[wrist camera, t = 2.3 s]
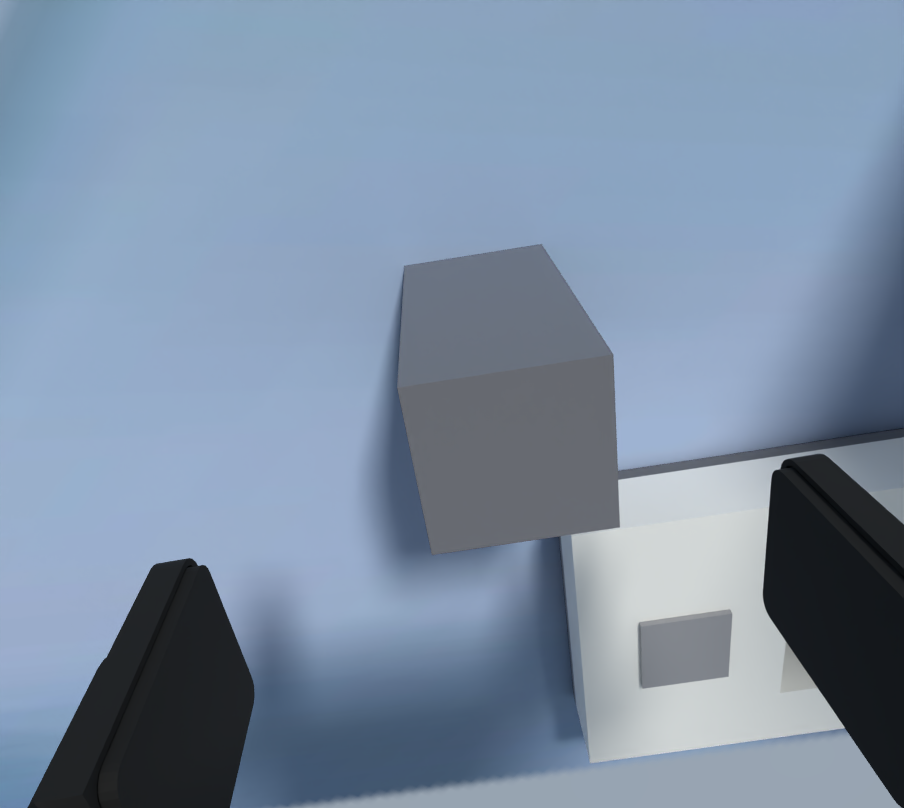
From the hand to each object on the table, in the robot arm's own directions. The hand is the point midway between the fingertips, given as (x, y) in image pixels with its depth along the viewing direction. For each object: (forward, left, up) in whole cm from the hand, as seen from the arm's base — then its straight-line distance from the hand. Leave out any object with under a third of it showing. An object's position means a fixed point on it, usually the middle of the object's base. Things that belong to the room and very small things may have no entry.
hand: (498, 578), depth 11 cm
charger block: (-1, 0, -11) cm, 11 cm away
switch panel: (-8, +15, -11) cm, 20 cm away
